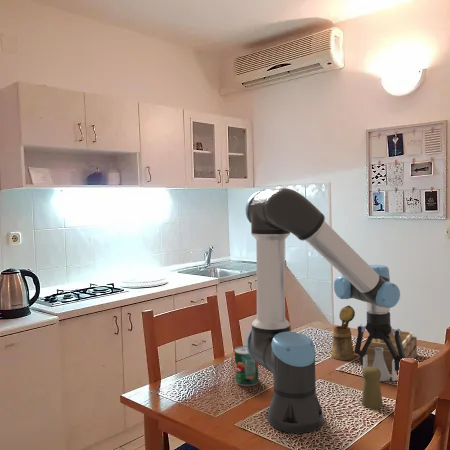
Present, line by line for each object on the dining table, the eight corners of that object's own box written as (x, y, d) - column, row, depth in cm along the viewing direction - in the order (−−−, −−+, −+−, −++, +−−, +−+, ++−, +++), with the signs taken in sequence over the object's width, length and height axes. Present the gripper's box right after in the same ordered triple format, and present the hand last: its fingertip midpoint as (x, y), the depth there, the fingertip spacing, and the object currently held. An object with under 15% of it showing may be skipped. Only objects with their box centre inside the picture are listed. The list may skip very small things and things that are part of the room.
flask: (392, 382, 152) (391, 352, 152) (369, 381, 154) (368, 352, 153) (389, 374, 159) (388, 345, 159) (367, 373, 161) (366, 345, 160)
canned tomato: (263, 380, 158) (262, 348, 158) (248, 388, 152) (247, 355, 152) (245, 375, 164) (244, 344, 163) (230, 382, 158) (229, 350, 157)
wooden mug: (361, 351, 184) (360, 306, 183) (350, 361, 172) (349, 314, 171) (339, 347, 189) (338, 304, 187) (327, 358, 177) (326, 311, 176)
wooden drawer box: (404, 373, 159) (404, 353, 159) (363, 366, 167) (363, 347, 167) (416, 354, 177) (416, 336, 176) (379, 349, 185) (379, 332, 184)
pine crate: (401, 368, 161) (401, 346, 161) (368, 363, 167) (367, 341, 167) (412, 353, 176) (412, 332, 176) (381, 348, 183) (381, 328, 182)
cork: (380, 410, 133) (379, 373, 132) (359, 406, 136) (358, 369, 136) (385, 402, 138) (384, 366, 138) (364, 398, 141) (364, 363, 141)
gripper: (414, 311, 153) (415, 378, 154) (350, 305, 164) (351, 368, 166) (409, 317, 146) (411, 387, 148) (342, 310, 158) (344, 375, 159)
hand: (379, 377), depth 157 cm, fingers open, 9 cm apart
